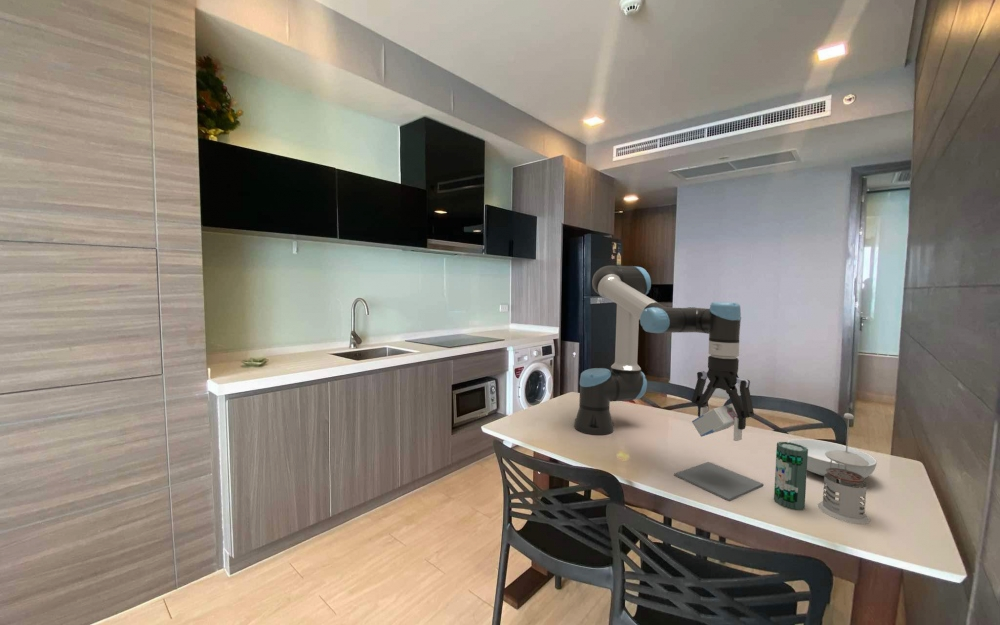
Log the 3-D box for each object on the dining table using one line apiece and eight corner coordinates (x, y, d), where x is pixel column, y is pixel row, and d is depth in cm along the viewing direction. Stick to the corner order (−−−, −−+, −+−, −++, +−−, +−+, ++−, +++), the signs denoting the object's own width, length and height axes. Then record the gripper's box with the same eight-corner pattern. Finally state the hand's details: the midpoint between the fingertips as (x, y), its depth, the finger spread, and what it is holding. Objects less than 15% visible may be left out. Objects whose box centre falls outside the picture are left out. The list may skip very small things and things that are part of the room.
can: (768, 497, 102) (771, 441, 101) (790, 496, 102) (793, 441, 101) (787, 510, 96) (790, 451, 95) (810, 509, 96) (813, 451, 95)
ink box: (690, 420, 111) (714, 415, 116) (700, 437, 108) (724, 430, 114) (712, 407, 105) (737, 402, 111) (724, 424, 102) (748, 418, 108)
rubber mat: (674, 475, 113) (674, 473, 113) (708, 463, 122) (708, 461, 122) (729, 501, 99) (729, 499, 99) (763, 485, 108) (763, 483, 108)
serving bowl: (862, 467, 121) (864, 446, 120) (886, 497, 103) (888, 472, 102) (781, 452, 131) (782, 433, 131) (790, 477, 113) (791, 454, 113)
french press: (825, 517, 93) (831, 416, 91) (809, 495, 103) (814, 403, 102) (878, 528, 89) (885, 422, 87) (856, 503, 99) (862, 408, 98)
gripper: (680, 351, 116) (677, 424, 117) (757, 363, 97) (753, 450, 98) (695, 350, 120) (692, 421, 121) (772, 361, 101) (768, 445, 102)
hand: (719, 434), depth 110 cm, fingers closed on ink box, 9 cm apart
